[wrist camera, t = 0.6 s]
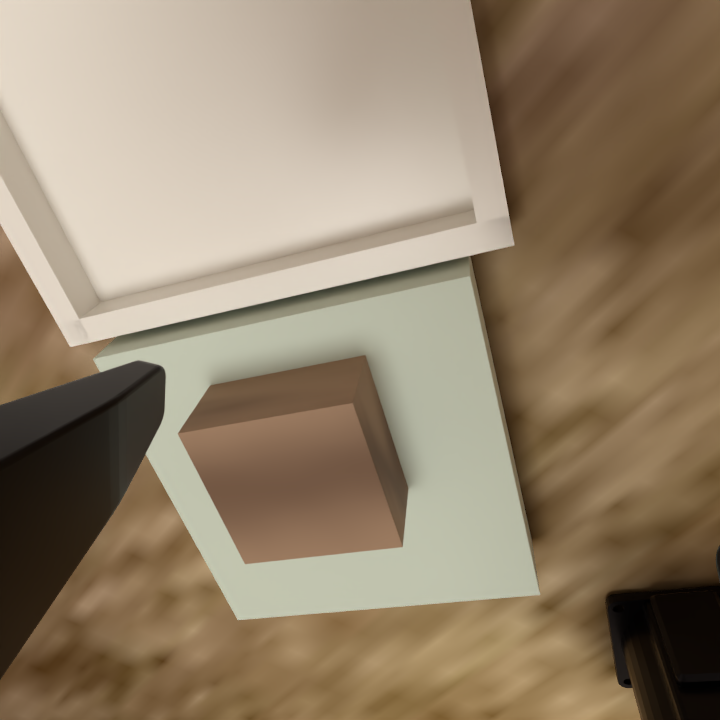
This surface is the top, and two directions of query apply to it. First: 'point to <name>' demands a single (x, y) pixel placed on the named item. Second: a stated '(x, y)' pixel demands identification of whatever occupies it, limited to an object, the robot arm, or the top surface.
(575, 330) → the top surface
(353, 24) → the tray
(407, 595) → the platform
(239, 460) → the walnut tile
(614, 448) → the top surface
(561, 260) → the top surface
